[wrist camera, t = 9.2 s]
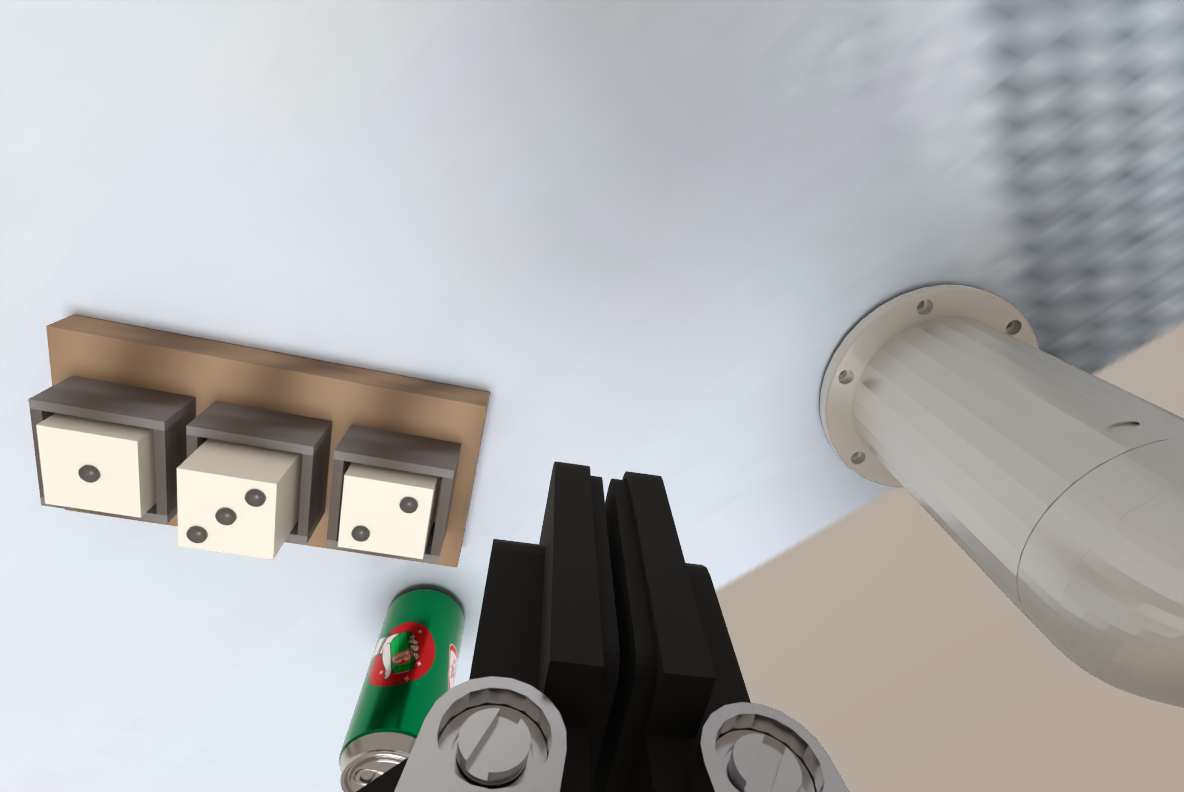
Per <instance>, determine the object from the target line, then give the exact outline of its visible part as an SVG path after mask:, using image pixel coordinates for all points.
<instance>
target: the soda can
mask: <svg viewBox="0 0 1184 792" xmlns="http://www.w3.org/2000/svg"><path fill="white" fill-rule="evenodd" d="M463 628H464V615H463V612H462V610H461V608H460V606H459V605H458V604H457V602H455V601H454V600H453V599H452V598H451V597H449V596H448V595H446V594H444V593H442V592H440V591H437V590H432V589H418V590H413V591H410V592H407V593H405V594H403V595H401V596H399V597H398V598H396V599H395V600H394V601H393V602H392V604H391V605H390V607H389V609H388V611H387V614H386V617H385V620H384V623H383V626H382V629H381V633H380V636H379V639H378V642H377V645H376V648H375V651H374V654H373V657H372V660H371V663H370V666H369V669H368V672H367V675H366V678H365V681H364V684H363V687H362V690H361V693H360V696H359V699H358V702H357V705H356V708H355V711H354V714H353V717H352V720H351V723H350V726H349V729H348V732H347V735H346V738H345V741H344V744H343V747H342V750H341V753H340V757H339V765H340V769H341V772H342V774H341V787H342V789H343V791H344V792H356V791H358V790H359V789H361V788H362V787H364V786H365V785H367V784H368V783H370V782H371V781H373V780H374V779H376V778H377V777H379V776H380V775H382V774H383V773H385V772H387V771H388V770H390V769H391V768H393V767H394V766H396V765H397V764H399V763H400V762H402V761H403V760H405V759H406V758H408V757H409V755H410V753H411V751H412V748H413V746H414V744H415V741H416V739H417V736H418V734H419V732H420V729H421V727H422V725H423V722H424V720H425V718H426V716H427V714H428V713H429V711H430V710H431V708H432V707H433V705H434V703H435V702H436V701H437V700H438V699H439V698H440V697H441V696H443V695H444V694H445V693H446V692H447V691H449V690H450V689H451V688H452V687H453V686H454V680H455V674H456V668H457V663H458V657H459V651H460V645H461V640H462V634H463Z"/></svg>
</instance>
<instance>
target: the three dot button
mask: <svg viewBox="0 0 1184 792" xmlns="http://www.w3.org/2000/svg"><path fill="white" fill-rule="evenodd" d="M302 458H303V454H300V453H294V452H288V451H282V450H276V449H270V448H264V447H258V446H252V445H246V444H240V443H234V442H228V441H222V440H216V439H210V438H208V439H207V440H206V441H205V442H204V443H203V444H202V445H201V446H200V447H199V448H198V449H197V450H195V451H194V452H193V453H192V454H191V455H190V456H189V457H188V458H187V459H186V460H185V461H184V462H183V463H182V464H181V465H180V466H178V467H177V506H178V546H182V547H189V548H196V549H203V550H210V551H217V552H224V553H231V554H238V555H245V556H252V557H259V558H266V559H274V557H275V556H276V554H277V553H278V551H279V550H280V548H281V546H282V545H283V543H284V542H285V540H286V538H287V537H288V535H289V534H290V532H291V530H292V529H293V527H294V526H295V524H296V522H297V521H298V519H299V505H300V489H301V473H302Z"/></svg>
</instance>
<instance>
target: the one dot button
mask: <svg viewBox="0 0 1184 792" xmlns="http://www.w3.org/2000/svg"><path fill="white" fill-rule="evenodd" d="M36 428H37V437H38V446H39V454H40V463H41V472H42V480H43V489H44V498H45V504H51V505H58V506H65V507H72V508H78V509H85V510H92V511H99V512H105V513H112V514H119V515H126V516H132V517H139V518H141V517H142V516H143V515H144V514H145V513H146V512H147V511H148V510H149V509H150V508H151V507H152V506H154V505H155V504H156V477H155V450H154V429H150V428H144V427H138V426H132V425H126V424H120V423H114V422H108V421H102V420H96V419H90V418H84V417H78V416H72V415H66V414H60V413H55V414H53V415H52V416H50V417H48V418H47V419H45V420H43V421H42V422H40V423H38V424H37V425H36Z"/></svg>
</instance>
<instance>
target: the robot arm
mask: <svg viewBox="0 0 1184 792" xmlns="http://www.w3.org/2000/svg"><path fill="white" fill-rule="evenodd" d="M919 303H920V304H919ZM918 304H919V305H918ZM841 372H843V373H842V374H840V373H841ZM820 416H821V421H822V427H823V430H824V432H825V435H826V437H827V439H828V442H829V444H830V445H831V446H832V448H833V449H834V450H835V452H836V453H837V455H838V456H839V457H840V458H841V459H842V460H843V462H844V463H845V464H846V465H847V466H848V467H849V468H850V469H852V470H853V471H855V472H856V473H858V474H859V475H861V476H862V477H864V478H866V479H869V480H871V481H874V482H876V483H879V484H883V485H888V486H894V487H904V488H905V489H906V490H907V491H908V492H909V493H910V494H911V495H912V496H913V497H914V498H915V499H916V500H917V501H918V502H919V503H920V505H921V506H922V507H923V508H924V509H925V510H926V511H927V512H928V513H929V514H930V515H931V516H932V517H933V518H934V519H935V520H936V522H937V523H938V524H939V525H940V526H941V527H942V528H943V529H944V530H945V531H946V532H947V533H948V534H949V535H950V536H951V537H952V538H953V540H954V541H955V542H956V543H957V544H958V545H959V546H960V547H961V548H962V549H963V550H964V551H965V552H966V553H967V554H968V556H969V557H970V558H971V559H972V560H973V561H974V562H975V563H976V564H977V565H978V566H979V567H980V568H981V569H982V570H983V572H985V574H986V575H987V576H988V577H989V578H990V579H991V580H992V581H993V582H994V583H995V584H996V585H997V586H998V587H999V589H1001V591H1002V592H1003V593H1004V594H1005V595H1006V596H1007V597H1008V598H1009V599H1010V600H1011V601H1012V602H1013V603H1014V604H1015V606H1016V607H1017V608H1019V610H1020V611H1021V612H1022V613H1023V614H1024V615H1025V616H1027V618H1028V619H1029V620H1030V621H1031V622H1032V623H1033V624H1034V625H1035V626H1036V627H1037V628H1038V629H1039V630H1040V631H1041V632H1042V633H1043V635H1045V637H1046V638H1047V639H1048V640H1049V641H1050V642H1051V643H1052V644H1053V645H1054V646H1055V647H1056V648H1057V649H1058V650H1060V651H1061V652H1062V653H1063V654H1064V655H1065V656H1066V657H1067V658H1069V659H1070V660H1071V661H1072V662H1074V663H1075V664H1076V665H1078V666H1079V667H1080V668H1082V669H1083V670H1085V671H1086V672H1088V673H1089V674H1091V675H1093V676H1094V677H1097V678H1098V679H1100V680H1102V681H1104V682H1105V683H1107V684H1109V685H1111V686H1113V687H1115V688H1118V689H1121V690H1123V691H1126V692H1129V693H1132V694H1134V695H1137V696H1140V697H1144V698H1146V699H1150V700H1153V701H1157V702H1161V703H1166V704H1170V705H1174V706H1178V707H1183V708H1184V419H1183V418H1181V417H1179V416H1177V415H1175V414H1173V413H1171V412H1168V411H1167V410H1164V409H1162V408H1160V407H1158V406H1156V405H1154V404H1152V403H1150V402H1147V401H1146V400H1144V399H1142V398H1139V397H1137V396H1135V395H1133V394H1131V393H1129V392H1127V391H1125V390H1123V389H1121V388H1119V387H1117V386H1115V385H1112V384H1110V383H1108V382H1106V381H1104V380H1102V379H1100V378H1098V377H1096V376H1094V375H1092V374H1090V373H1087V372H1085V371H1083V370H1081V369H1079V368H1077V367H1075V366H1073V365H1071V364H1069V363H1067V362H1065V361H1063V360H1060V359H1058V358H1056V357H1054V356H1052V355H1050V354H1048V353H1046V352H1044V351H1042V350H1040V349H1039V347H1038V343H1037V339H1036V335H1035V333H1034V332H1033V330H1032V328H1031V326H1030V324H1029V322H1028V320H1027V319H1026V318H1025V317H1024V316H1023V315H1022V314H1021V313H1020V311H1019V310H1018V309H1017V308H1016V307H1015V306H1013V305H1012V304H1010V303H1009V302H1007V301H1005V300H1004V299H1002V298H1001V297H999V296H997V295H994V294H992V293H989V292H987V291H985V290H982V289H978V288H974V287H969V286H965V285H944V284H942V285H936V286H930V287H924V288H919V289H916V290H913V291H911V292H908V293H905V294H902V295H899V296H897V297H896V298H894V299H892V300H890V301H888V302H886V303H885V304H883V305H881V306H879V307H878V308H876V309H875V310H874V311H873V312H871V313H870V314H869V315H867V316H866V317H865V318H864V319H862V320H861V321H860V322H859V323H858V324H857V325H856V326H855V327H854V328H853V329H852V331H851V332H850V333H849V334H848V335H847V336H846V337H845V338H844V340H843V341H842V343H841V344H840V346H839V347H838V349H837V350H836V352H835V353H834V355H833V357H832V359H831V361H830V364H829V366H828V368H827V370H826V373H825V376H824V380H823V384H822V388H821V392H820ZM356 792H849V790H848V788H847V787H846V785H845V783H844V781H843V779H842V778H841V776H840V774H839V772H838V771H837V769H836V767H835V765H834V764H833V762H832V760H831V758H830V756H829V755H828V754H827V752H826V751H825V750H824V748H823V747H822V746H821V744H820V743H819V741H818V740H817V738H815V737H814V736H813V735H812V734H811V733H810V732H809V731H808V730H807V729H805V727H803V726H802V725H801V724H800V723H799V722H797V721H796V720H794V719H792V718H791V717H789V716H787V715H786V714H784V713H783V712H781V711H778V710H776V709H773V708H770V707H767V706H765V705H762V704H756V703H750V699H749V696H748V693H747V690H746V687H745V683H744V680H743V677H742V674H741V671H740V668H739V665H738V662H737V658H736V655H735V652H734V649H733V646H732V643H731V639H730V637H729V634H728V630H727V627H726V624H725V621H724V617H723V614H722V611H721V608H720V605H719V602H718V599H717V596H716V592H715V589H714V586H713V583H712V580H711V577H710V574H709V572H708V570H707V568H706V567H705V566H703V565H697V564H689V563H685V560H684V557H683V553H682V549H681V546H680V542H679V538H678V535H677V531H676V527H675V524H674V520H673V516H672V513H671V509H670V505H669V501H668V498H667V494H666V490H665V487H664V483H663V480H662V477H661V476H655V475H648V474H641V473H634V472H627V471H626V472H625V474H624V476H623V479H622V480H618V479H611V481H610V484H609V488H608V492H607V497H606V501H604V491H603V481H602V477H596V476H591V475H590V467H589V466H584V465H577V464H570V463H562V462H554V466H553V470H552V476H551V481H550V487H549V492H548V498H547V504H546V509H545V515H544V520H543V526H542V532H541V537H540V543H539V545H538V544H530V543H522V542H514V541H506V540H498V539H494V540H493V545H492V551H491V557H490V562H489V568H488V574H487V580H486V586H485V592H484V597H483V603H482V609H481V615H480V621H479V627H478V632H477V638H476V644H475V650H474V656H473V661H472V667H471V673H470V679H469V680H468V681H466V682H464V683H462V684H459V685H457V686H455V687H452V688H451V689H450V690H449V691H447V692H446V693H445V694H444V695H443V696H441V697H440V698H439V699H438V700H437V701H436V702H435V703H434V705H433V707H432V708H431V710H430V711H429V713H428V714H427V716H426V718H425V720H424V722H423V725H422V727H421V729H420V732H419V734H418V736H417V739H416V741H415V744H414V746H413V748H412V751H411V753H410V755H409V757H408V758H406V759H405V760H403V761H402V762H400V763H399V764H397V765H396V766H394V767H393V768H391V769H390V770H388V771H387V772H385V773H383V774H382V775H380V776H379V777H377V778H376V779H374V780H373V781H371V782H370V783H368V784H367V785H365V786H364V787H362V788H361V789H359V790H358V791H356Z"/></svg>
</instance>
